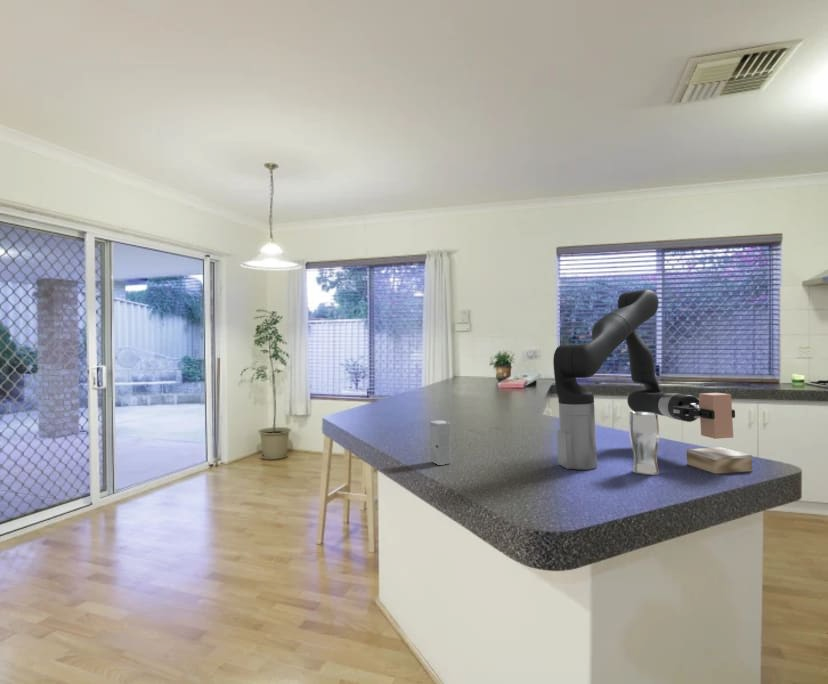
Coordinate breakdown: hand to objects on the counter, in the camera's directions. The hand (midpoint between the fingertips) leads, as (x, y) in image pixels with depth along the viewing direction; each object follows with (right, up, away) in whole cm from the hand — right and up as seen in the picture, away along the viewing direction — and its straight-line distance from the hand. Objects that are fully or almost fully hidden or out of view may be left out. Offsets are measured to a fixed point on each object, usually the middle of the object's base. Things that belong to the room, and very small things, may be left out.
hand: (723, 414), depth 119 cm
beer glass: (-20, -15, 0) cm, 25 cm away
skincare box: (-71, -17, +18) cm, 75 cm away
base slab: (0, -14, +2) cm, 14 cm away
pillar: (0, -6, +3) cm, 7 cm away
